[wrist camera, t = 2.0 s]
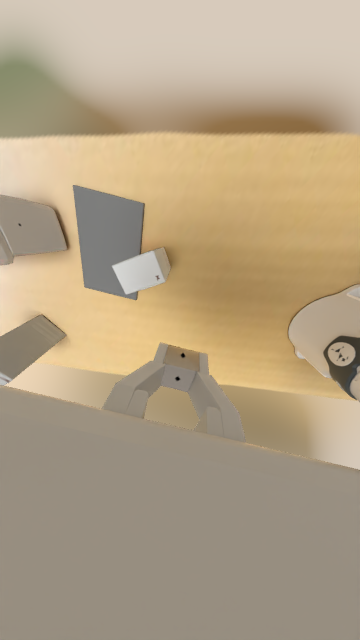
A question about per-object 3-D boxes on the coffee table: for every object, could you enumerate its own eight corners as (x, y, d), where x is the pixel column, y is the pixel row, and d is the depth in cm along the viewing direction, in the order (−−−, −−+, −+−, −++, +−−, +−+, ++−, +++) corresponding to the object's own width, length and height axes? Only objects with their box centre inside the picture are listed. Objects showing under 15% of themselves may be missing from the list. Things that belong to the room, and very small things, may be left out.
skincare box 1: (30, 323, 42) (-50, 366, 28) (43, 312, 39) (-38, 353, 26) (56, 344, 45) (-6, 392, 31) (69, 335, 42) (9, 382, 29)
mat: (144, 203, 25) (143, 203, 25) (136, 299, 35) (136, 300, 34) (75, 185, 25) (72, 184, 25) (86, 286, 34) (84, 287, 34)
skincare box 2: (164, 246, 28) (154, 248, 18) (171, 268, 30) (167, 283, 20) (135, 256, 29) (109, 265, 19) (144, 277, 31) (125, 296, 21)
